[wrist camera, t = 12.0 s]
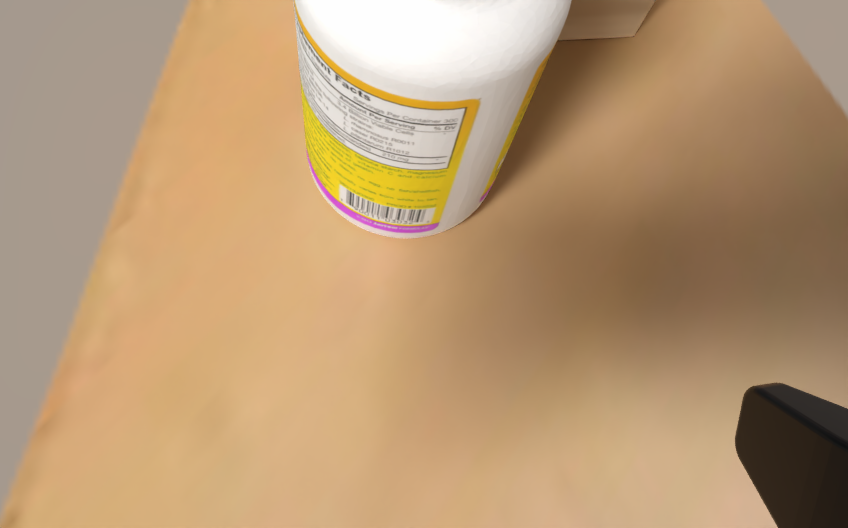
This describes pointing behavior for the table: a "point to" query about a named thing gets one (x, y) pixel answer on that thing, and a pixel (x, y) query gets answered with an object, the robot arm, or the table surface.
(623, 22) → the birch backstop wall
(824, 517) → the robot arm
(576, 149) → the table surface
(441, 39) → the supplement bottle
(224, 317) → the table surface
